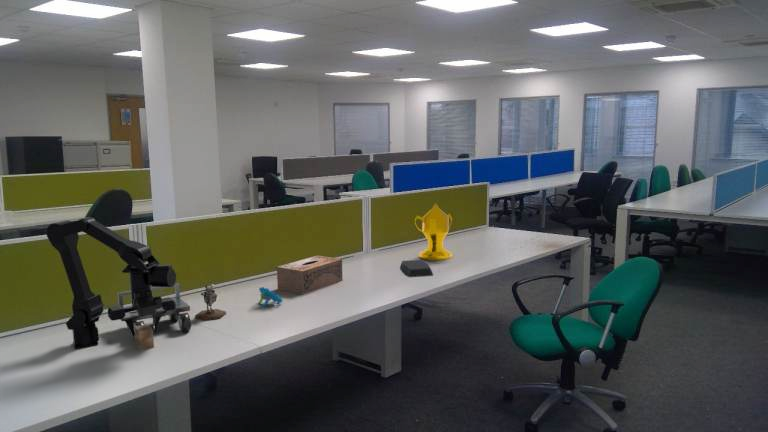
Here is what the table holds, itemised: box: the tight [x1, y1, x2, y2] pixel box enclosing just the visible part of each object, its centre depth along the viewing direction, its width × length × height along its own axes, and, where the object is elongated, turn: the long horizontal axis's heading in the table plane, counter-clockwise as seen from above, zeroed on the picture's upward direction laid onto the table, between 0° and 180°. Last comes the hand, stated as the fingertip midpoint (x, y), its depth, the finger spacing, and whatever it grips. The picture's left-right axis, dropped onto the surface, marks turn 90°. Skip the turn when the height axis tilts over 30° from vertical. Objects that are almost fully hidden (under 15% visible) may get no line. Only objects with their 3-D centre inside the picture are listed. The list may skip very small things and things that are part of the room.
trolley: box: [117, 283, 192, 339], centre depth 190 cm, size 20×20×12 cm
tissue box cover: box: [276, 255, 343, 295], centre depth 244 cm, size 26×14×10 cm, turn 146°
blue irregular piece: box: [258, 286, 283, 307], centre depth 216 cm, size 11×6×10 cm
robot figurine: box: [194, 283, 227, 322], centre depth 204 cm, size 11×9×12 cm
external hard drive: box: [399, 259, 434, 278], centre depth 267 cm, size 13×19×4 cm
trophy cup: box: [414, 203, 453, 261], centre depth 296 cm, size 18×24×28 cm
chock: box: [134, 323, 155, 351], centre depth 176 cm, size 4×6×6 cm, turn 35°
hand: (144, 335), depth 176 cm, fingers open, 6 cm apart
